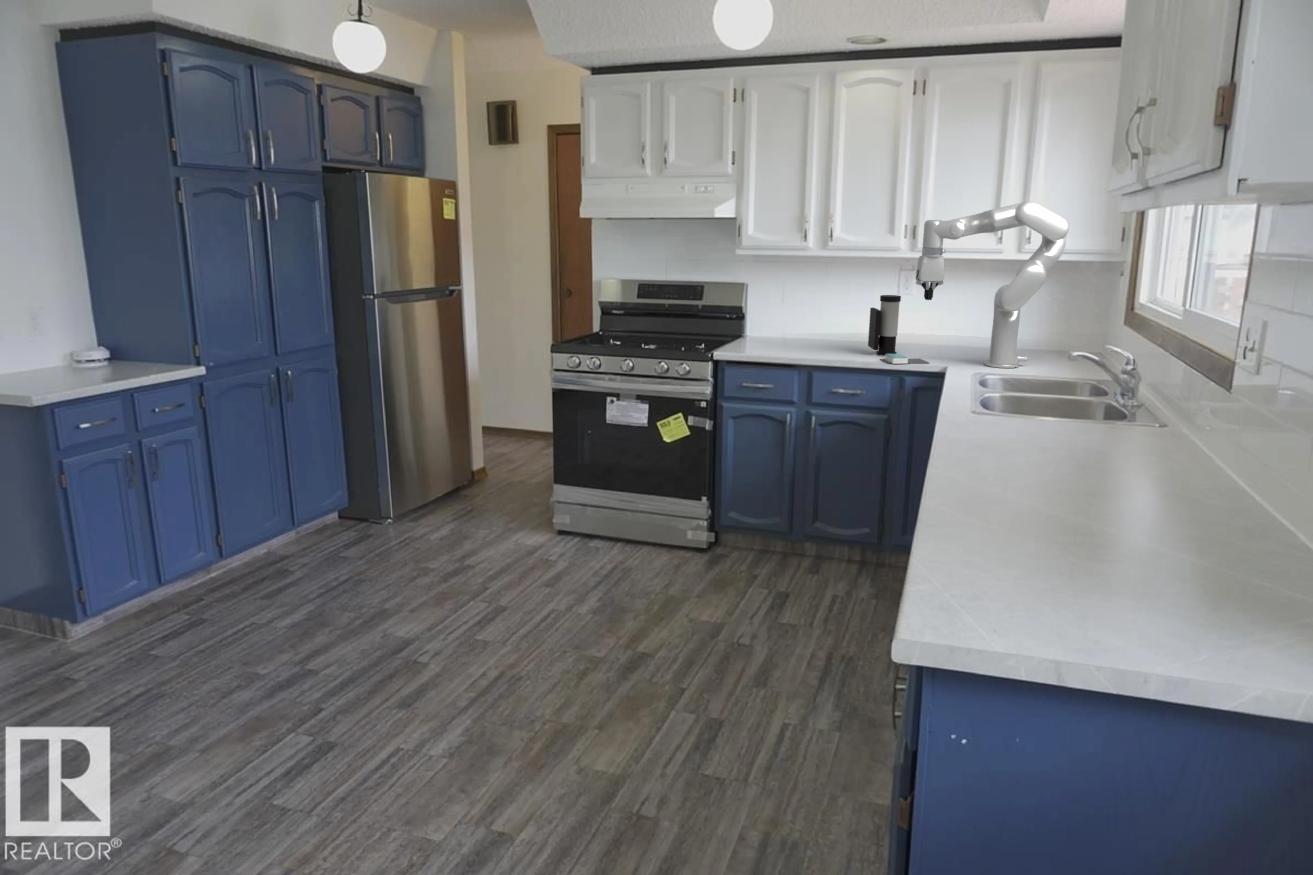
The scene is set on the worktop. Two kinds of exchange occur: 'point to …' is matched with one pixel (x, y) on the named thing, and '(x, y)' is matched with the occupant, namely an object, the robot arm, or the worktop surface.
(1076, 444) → the worktop surface
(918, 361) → the mat
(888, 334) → the light fixture
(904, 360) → the deck
